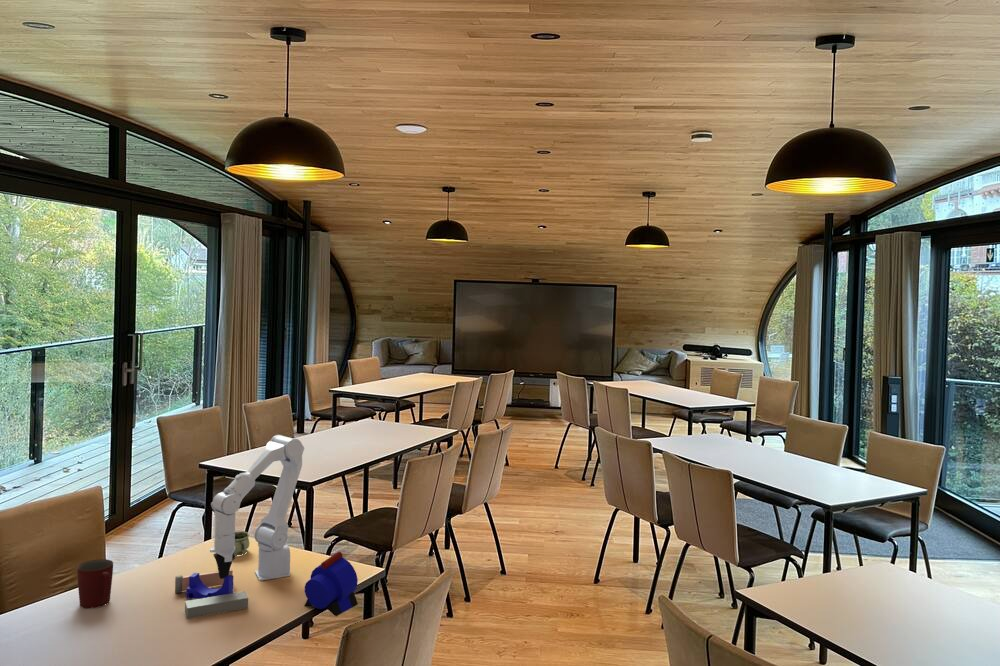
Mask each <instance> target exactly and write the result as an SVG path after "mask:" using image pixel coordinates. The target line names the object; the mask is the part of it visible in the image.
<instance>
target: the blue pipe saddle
mask: <svg viewBox="0 0 1000 666" xmlns="http://www.w3.org/2000/svg"><path fill="white" fill-rule="evenodd" d="M199 574H200V573H199V572H193V573H191V574H190V575H191V576H189V575H188V576H189V587H188V588H187V589H186V596H185V597H186V599H192V598H193V599H192V600H195V599H201V598H207V597H213V596H219V595H225V594H231V593H234V575H228V576H227V577H226V578H225V579H224V582H223V585H221V587H218V588H211V587H206V586H205V585H204V584H203V583H202V581H201V579H200V576H199Z"/></svg>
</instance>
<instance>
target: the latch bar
mask: <svg viewBox="0 0 1000 666" xmlns="http://www.w3.org/2000/svg"><path fill="white" fill-rule="evenodd" d="M233 572H234V571H233V568H230V571H229V575H233ZM191 575H192V574H190V575H182V574H181V575H180V574H179V575H176V576H175V577H174V578H175V580H174V593H175V594H179V593H182V592H185V591H186V589H187V588H188V587H189V576H191ZM199 576H200V579H201V581H202V583H203V584H204V585H205V586H206V587H208V588H211V587H218V586H222V585H223V582H224V579H225V578H223V579H220V577H219V572H218V570H217V571H212V572H211V571H210V572H203V573H199ZM233 576H234V575H233Z"/></svg>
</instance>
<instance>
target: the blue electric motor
mask: <svg viewBox="0 0 1000 666" xmlns="http://www.w3.org/2000/svg"><path fill="white" fill-rule="evenodd" d="M358 581H359V578H358V575H357V572H356V570H355V568H354V566H353V565H352V564H351V562H350V561H348V560H347V559H346V558H344V557H343V553H342V551H337V552H336V553H334V554H332V555H330V557H328V558H327V559H325V560H324V561H322V562H321V563H320V564H319V565H318V566H317V567H315V568H314V569H313V570H312V571H311V575H310V579H309V580H308V581H306V583H305V584H304V594H305V597H306V599H307V600H306V602H305V603H304V607H306V606H309V605H311V606H313V607H314V608H316V609H319V610H323V609H327V610H328V611H329V612H330V613H331V614H332V615H333V616H334V617H338V616H340V615H341V614H343V613H345V612H347V611H349V610H351V609H352V608H354V607H356V606H358V604H359V603H358V600H357V597H356V595H355V591H356V590H357V587H358Z"/></svg>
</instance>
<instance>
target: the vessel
mask: <svg viewBox="0 0 1000 666" xmlns="http://www.w3.org/2000/svg"><path fill="white" fill-rule="evenodd" d="M250 536H251V535H250V532H248V531H243V530H242V531H241V530H240V531H237V530H235V551H234V555H235V556H237V555H242V554H243V556H245V555H246V554H245V553H246V552H247V551H248V550H247V549H249V547H250V539H249V537H250ZM244 554H245V555H244Z"/></svg>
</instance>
